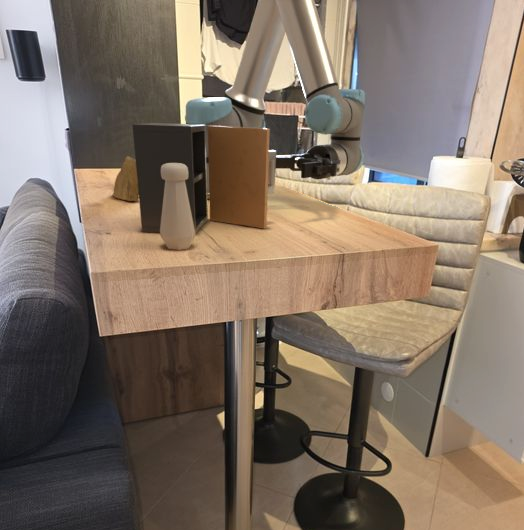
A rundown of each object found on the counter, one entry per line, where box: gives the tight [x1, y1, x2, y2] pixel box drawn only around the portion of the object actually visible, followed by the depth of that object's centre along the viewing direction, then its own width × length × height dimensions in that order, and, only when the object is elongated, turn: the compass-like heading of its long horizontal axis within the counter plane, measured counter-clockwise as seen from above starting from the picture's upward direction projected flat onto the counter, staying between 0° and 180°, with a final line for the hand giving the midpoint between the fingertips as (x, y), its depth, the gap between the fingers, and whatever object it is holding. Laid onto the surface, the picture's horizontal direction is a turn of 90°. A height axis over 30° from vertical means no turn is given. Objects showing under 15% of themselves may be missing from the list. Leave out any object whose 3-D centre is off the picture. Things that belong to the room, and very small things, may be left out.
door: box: [208, 126, 277, 229], centre depth 91 cm, size 7×13×18 cm, turn 60°
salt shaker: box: [159, 163, 196, 251], centre depth 73 cm, size 6×6×13 cm
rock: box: [111, 155, 139, 202], centre depth 113 cm, size 11×9×10 cm
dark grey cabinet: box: [131, 122, 209, 235], centre depth 86 cm, size 10×13×18 cm
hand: (274, 167), depth 94 cm, fingers open, 13 cm apart
